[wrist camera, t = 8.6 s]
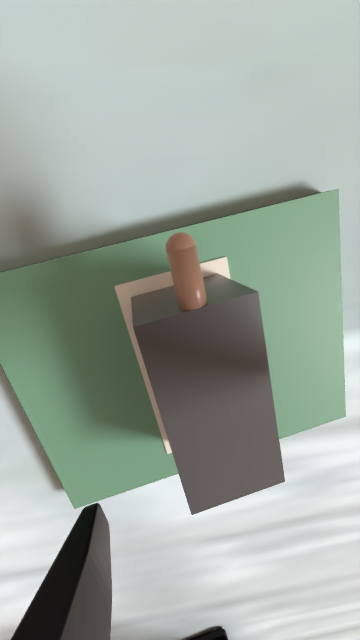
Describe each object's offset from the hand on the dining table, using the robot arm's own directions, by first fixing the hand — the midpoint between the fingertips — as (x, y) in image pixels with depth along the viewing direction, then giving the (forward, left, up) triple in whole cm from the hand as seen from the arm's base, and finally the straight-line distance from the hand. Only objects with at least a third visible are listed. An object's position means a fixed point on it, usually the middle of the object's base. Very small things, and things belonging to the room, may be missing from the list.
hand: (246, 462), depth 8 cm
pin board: (0, 0, -8) cm, 8 cm away
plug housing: (0, +1, -7) cm, 7 cm away
